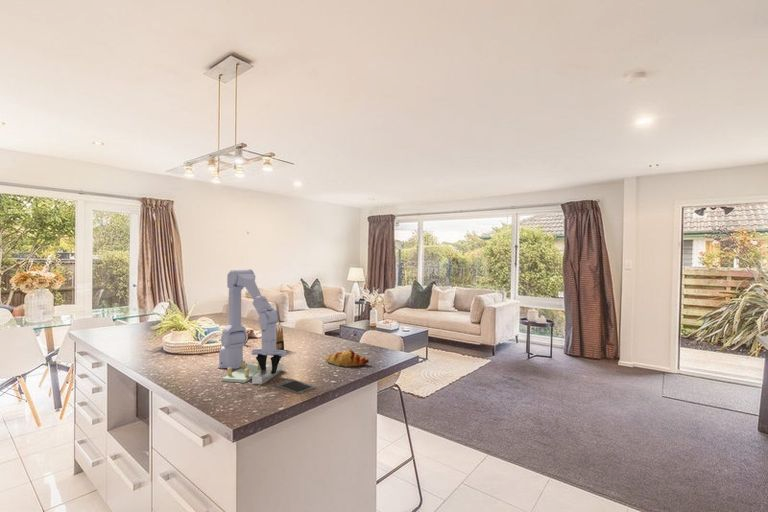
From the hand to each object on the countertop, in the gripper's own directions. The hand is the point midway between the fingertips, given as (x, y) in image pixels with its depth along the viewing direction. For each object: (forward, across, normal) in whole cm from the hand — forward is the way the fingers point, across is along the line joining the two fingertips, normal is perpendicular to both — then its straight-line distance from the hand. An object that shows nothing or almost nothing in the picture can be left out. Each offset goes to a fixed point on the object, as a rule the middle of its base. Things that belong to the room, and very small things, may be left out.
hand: (268, 373), depth 149 cm
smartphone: (+2, +16, -9) cm, 18 cm away
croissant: (+2, +26, +23) cm, 35 cm away
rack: (+1, -10, +1) cm, 11 cm away
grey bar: (+1, 0, 0) cm, 1 cm away
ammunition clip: (+2, -16, +37) cm, 41 cm away
